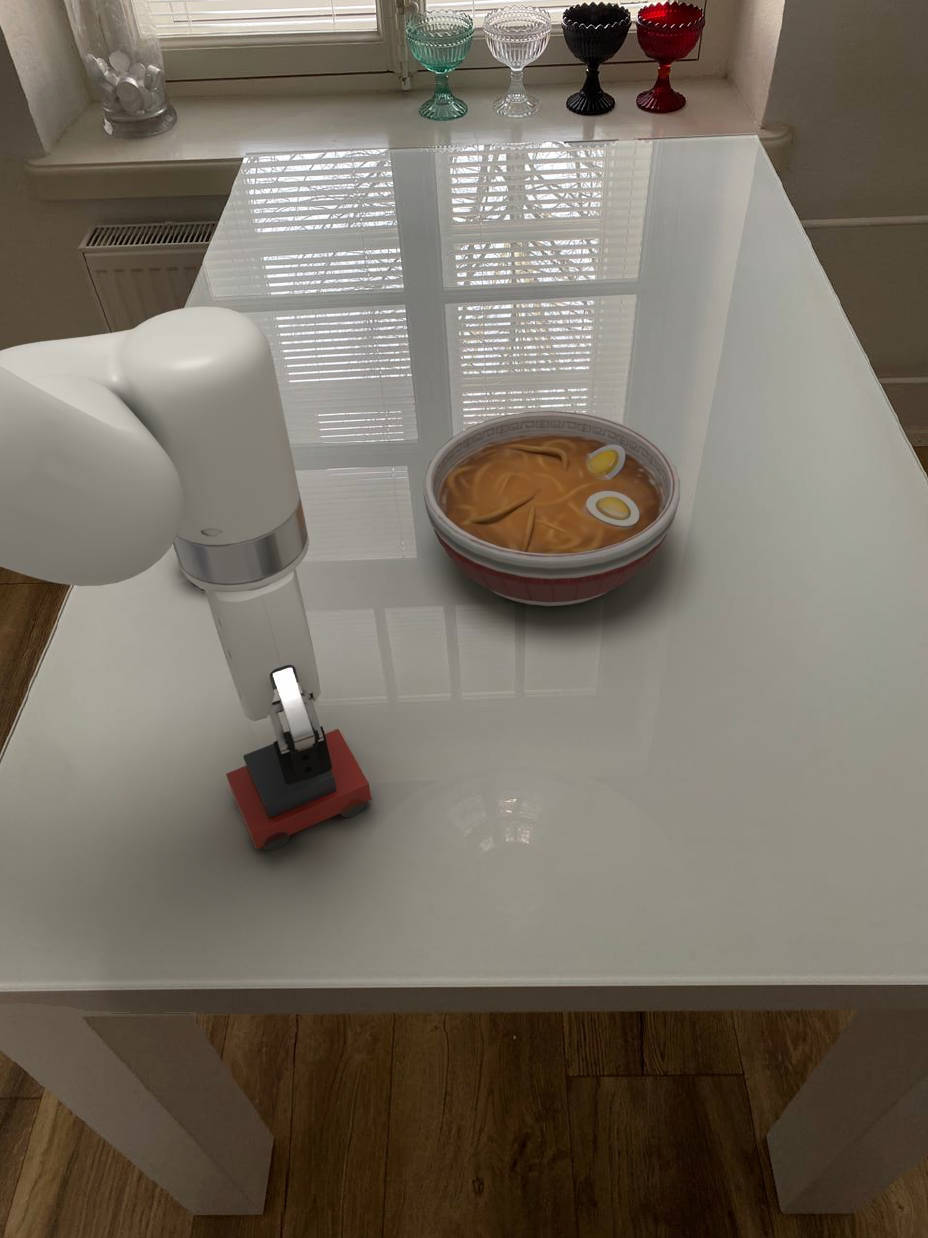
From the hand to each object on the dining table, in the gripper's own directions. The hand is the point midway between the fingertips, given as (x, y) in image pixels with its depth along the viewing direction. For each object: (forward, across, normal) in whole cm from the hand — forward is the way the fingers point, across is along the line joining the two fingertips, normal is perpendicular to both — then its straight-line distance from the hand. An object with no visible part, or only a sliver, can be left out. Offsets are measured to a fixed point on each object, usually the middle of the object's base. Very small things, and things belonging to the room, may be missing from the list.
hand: (289, 723), depth 66 cm
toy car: (+6, +3, 0) cm, 7 cm away
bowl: (+10, -18, +28) cm, 35 cm away
